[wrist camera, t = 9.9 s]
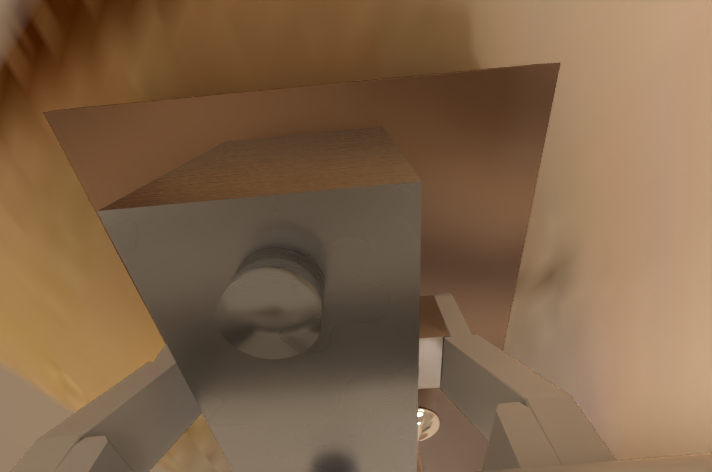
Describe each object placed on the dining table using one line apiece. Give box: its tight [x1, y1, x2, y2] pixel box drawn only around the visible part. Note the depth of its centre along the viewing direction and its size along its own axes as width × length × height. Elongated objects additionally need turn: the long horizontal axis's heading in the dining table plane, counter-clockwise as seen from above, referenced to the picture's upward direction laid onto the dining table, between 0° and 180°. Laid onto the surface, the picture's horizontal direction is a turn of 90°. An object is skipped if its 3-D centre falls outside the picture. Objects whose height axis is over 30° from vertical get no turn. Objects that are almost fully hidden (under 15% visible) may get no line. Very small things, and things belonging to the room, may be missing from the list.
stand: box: [43, 63, 560, 351], centre depth 13 cm, size 12×15×4 cm
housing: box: [97, 126, 422, 472], centre depth 8 cm, size 4×10×6 cm, turn 5°
